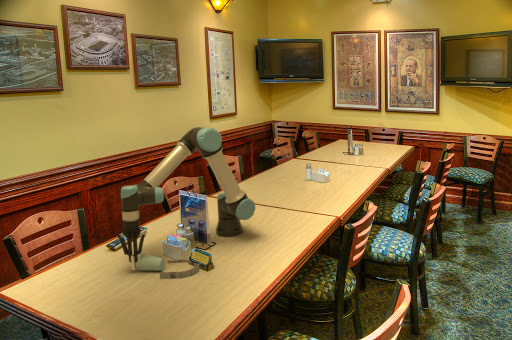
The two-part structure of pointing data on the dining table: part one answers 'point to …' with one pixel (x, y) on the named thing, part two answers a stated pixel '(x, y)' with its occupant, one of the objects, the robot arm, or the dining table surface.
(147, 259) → the cup
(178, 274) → the split ring
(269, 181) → the dining table surface
